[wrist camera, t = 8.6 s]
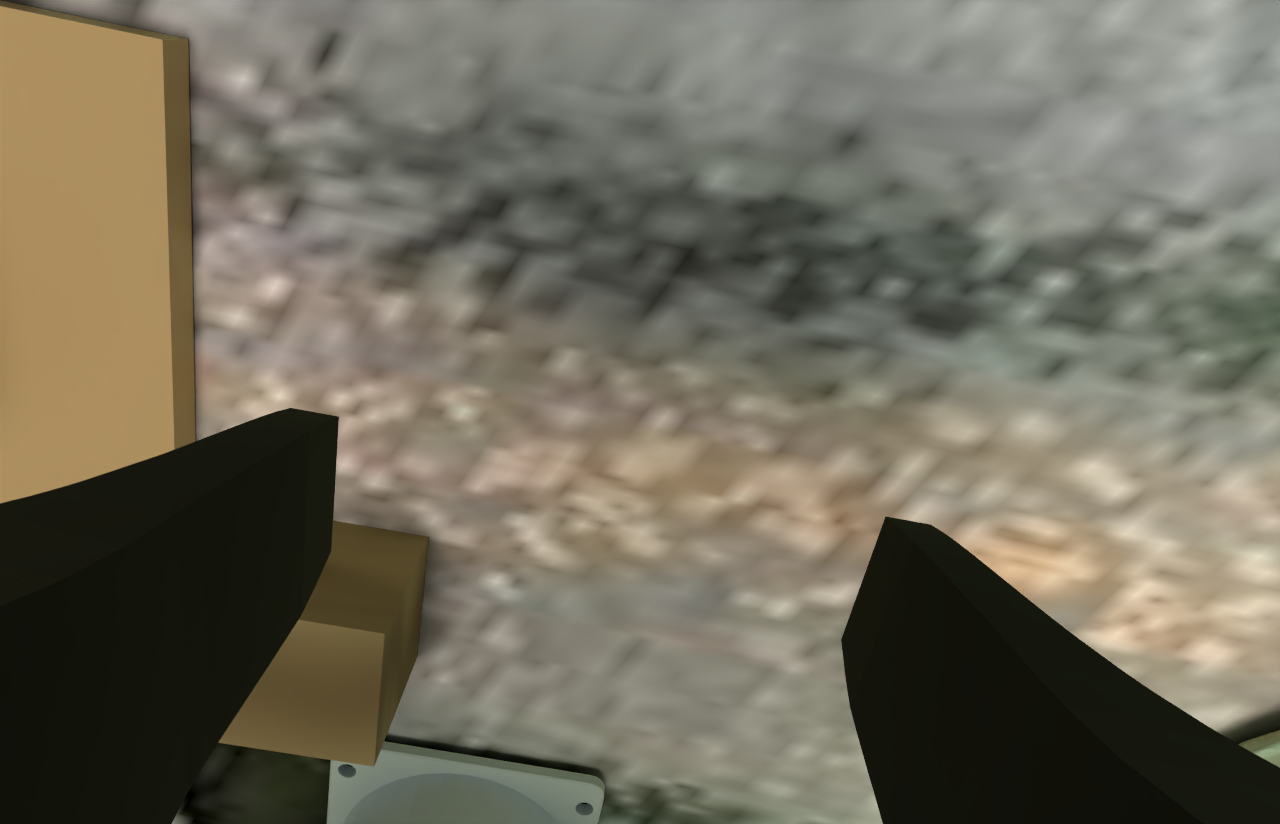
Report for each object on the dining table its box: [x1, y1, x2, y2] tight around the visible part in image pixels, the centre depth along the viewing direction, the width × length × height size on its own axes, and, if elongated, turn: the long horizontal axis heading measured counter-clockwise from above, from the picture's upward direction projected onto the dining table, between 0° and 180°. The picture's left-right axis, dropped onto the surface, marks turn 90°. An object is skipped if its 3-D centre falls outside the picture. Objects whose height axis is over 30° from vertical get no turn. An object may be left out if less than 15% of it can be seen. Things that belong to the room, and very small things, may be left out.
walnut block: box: [218, 521, 429, 767], centre depth 21 cm, size 4×4×4 cm
